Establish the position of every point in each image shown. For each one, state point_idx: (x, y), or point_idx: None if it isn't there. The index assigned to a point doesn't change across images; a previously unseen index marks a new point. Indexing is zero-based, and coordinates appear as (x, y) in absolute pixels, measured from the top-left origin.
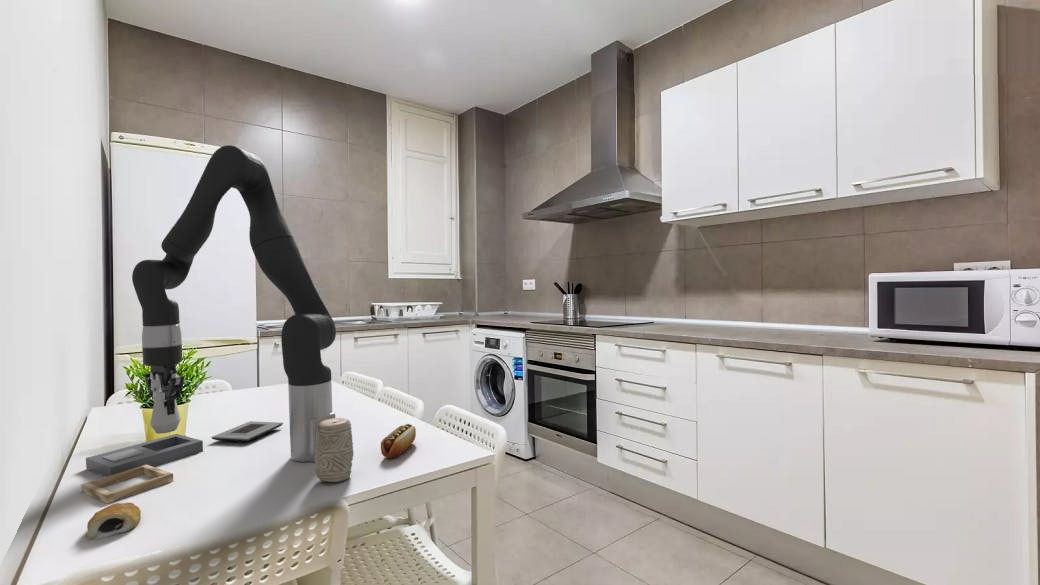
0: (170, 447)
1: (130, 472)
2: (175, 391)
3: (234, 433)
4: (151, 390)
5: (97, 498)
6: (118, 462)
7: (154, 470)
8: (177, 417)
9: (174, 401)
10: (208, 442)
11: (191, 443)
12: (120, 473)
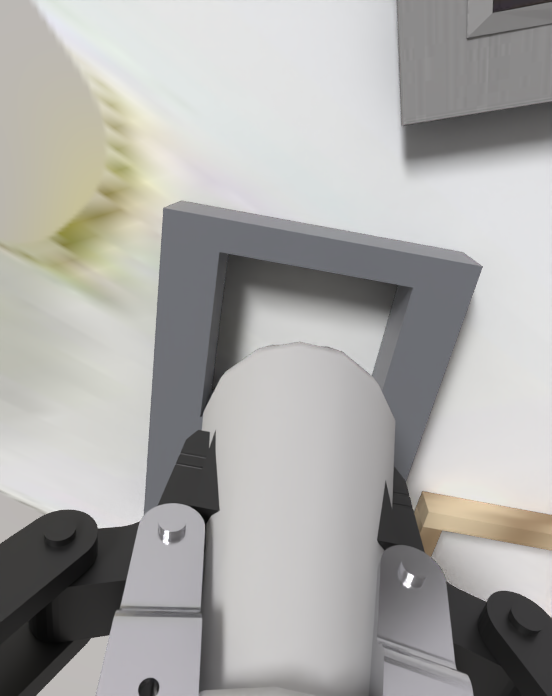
0: (388, 396)
1: None
2: (450, 656)
3: (544, 9)
4: (51, 676)
5: None
6: None
7: (530, 545)
8: (386, 419)
9: (395, 535)
10: (359, 121)
11: (453, 322)
12: None
